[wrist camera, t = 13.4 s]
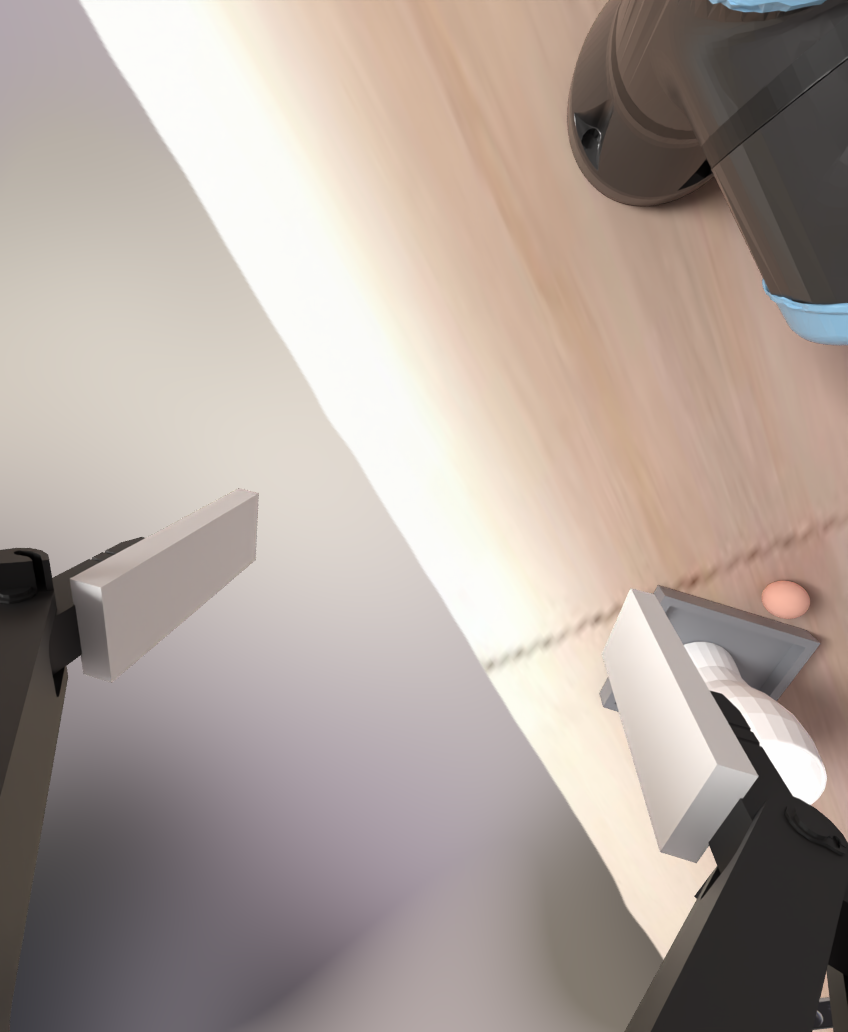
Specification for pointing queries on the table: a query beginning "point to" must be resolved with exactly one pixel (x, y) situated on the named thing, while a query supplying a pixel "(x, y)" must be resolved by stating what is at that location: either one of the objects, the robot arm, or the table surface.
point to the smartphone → (823, 1015)
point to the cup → (765, 722)
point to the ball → (785, 599)
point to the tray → (736, 641)
